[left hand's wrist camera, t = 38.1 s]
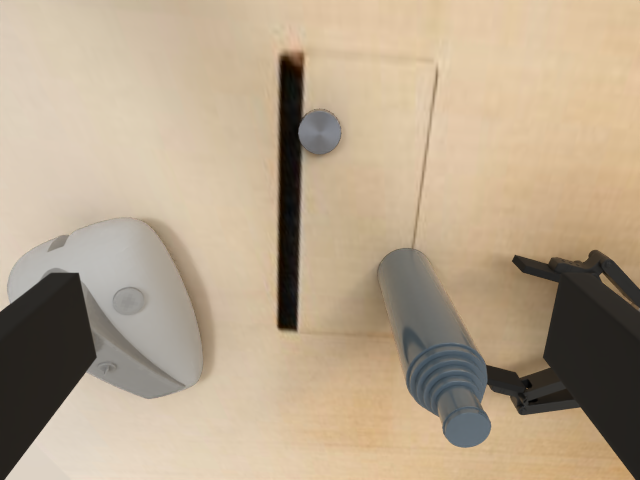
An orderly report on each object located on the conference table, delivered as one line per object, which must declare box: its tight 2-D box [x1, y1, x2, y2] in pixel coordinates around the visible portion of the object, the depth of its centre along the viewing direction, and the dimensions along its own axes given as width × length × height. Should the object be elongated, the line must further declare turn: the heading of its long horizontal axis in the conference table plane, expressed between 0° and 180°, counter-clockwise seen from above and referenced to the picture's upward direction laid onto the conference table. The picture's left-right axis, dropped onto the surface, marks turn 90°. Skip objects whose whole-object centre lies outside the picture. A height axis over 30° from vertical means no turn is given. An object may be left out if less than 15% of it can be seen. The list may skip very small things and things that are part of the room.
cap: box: [298, 109, 341, 154], centre depth 47 cm, size 4×4×2 cm
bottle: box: [378, 248, 491, 448], centre depth 42 cm, size 6×6×25 cm
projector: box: [7, 218, 203, 399], centre depth 48 cm, size 22×23×15 cm
